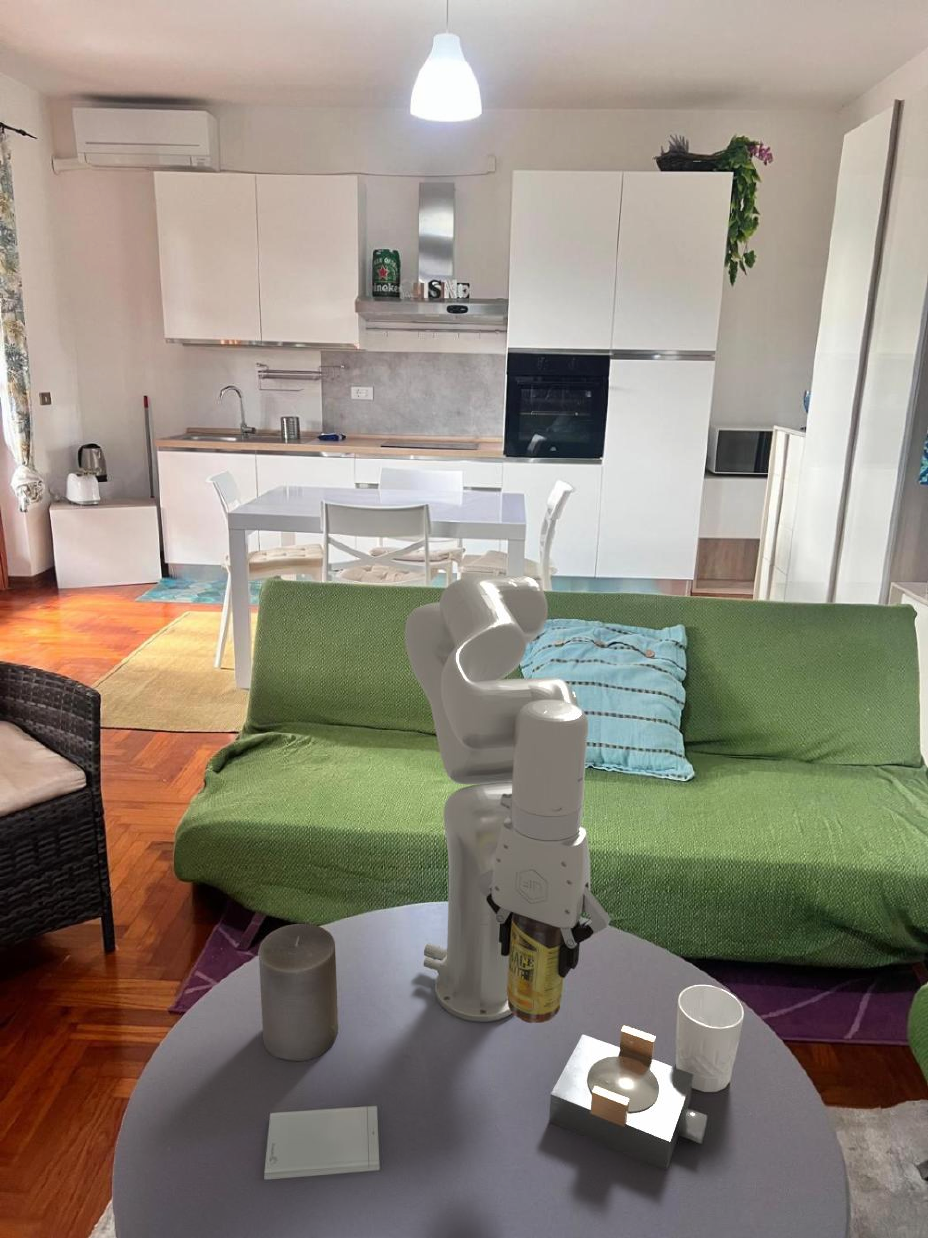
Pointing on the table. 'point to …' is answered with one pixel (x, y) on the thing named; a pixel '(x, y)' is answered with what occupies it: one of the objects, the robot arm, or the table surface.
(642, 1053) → the block
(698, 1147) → the table surface
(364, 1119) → the hard drive
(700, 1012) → the white cup
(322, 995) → the pillar candle
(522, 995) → the sauce bottle
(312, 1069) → the table surface
